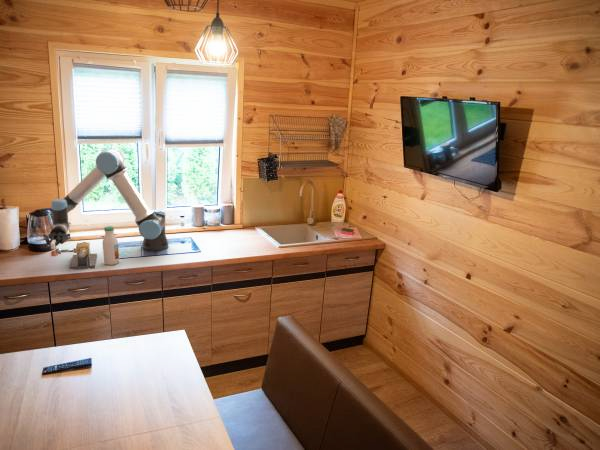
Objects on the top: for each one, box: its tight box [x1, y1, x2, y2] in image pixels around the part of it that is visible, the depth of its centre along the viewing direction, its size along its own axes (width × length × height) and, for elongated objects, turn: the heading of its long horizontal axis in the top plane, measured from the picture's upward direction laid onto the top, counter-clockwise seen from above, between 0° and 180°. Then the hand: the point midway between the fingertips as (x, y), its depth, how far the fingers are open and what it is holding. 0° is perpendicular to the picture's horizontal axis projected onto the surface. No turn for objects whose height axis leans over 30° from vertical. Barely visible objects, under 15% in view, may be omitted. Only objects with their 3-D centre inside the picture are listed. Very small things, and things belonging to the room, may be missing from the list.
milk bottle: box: [102, 225, 120, 266], centre depth 248 cm, size 8×8×20 cm
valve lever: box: [50, 248, 74, 258], centre depth 236 cm, size 8×3×18 cm
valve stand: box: [69, 241, 98, 270], centre depth 247 cm, size 12×19×10 cm, turn 20°
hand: (52, 246), depth 226 cm, fingers closed
